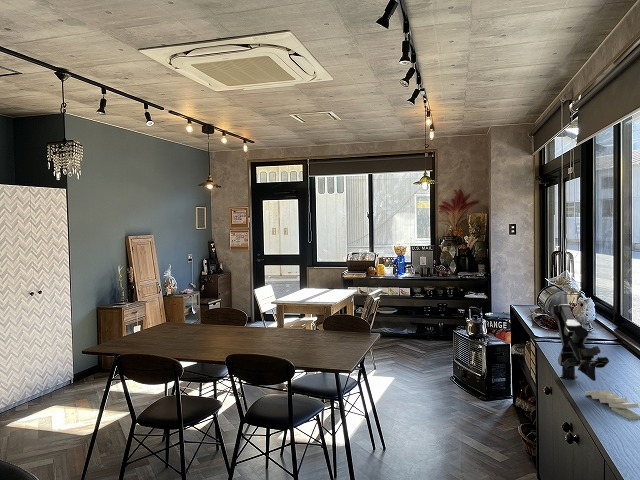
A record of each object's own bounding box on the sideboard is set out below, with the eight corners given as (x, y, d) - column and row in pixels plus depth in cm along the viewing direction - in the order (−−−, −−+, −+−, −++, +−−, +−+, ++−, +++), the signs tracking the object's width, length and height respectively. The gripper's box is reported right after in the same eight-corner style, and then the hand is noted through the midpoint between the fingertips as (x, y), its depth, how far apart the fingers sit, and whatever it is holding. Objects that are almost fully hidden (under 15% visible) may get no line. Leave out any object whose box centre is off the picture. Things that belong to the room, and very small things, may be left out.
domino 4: (608, 402, 206) (626, 404, 197) (619, 401, 207) (637, 403, 198) (609, 406, 206) (627, 408, 196) (619, 405, 207) (638, 407, 197)
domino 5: (611, 407, 204) (629, 416, 194) (622, 406, 204) (641, 416, 194) (611, 411, 204) (629, 420, 194) (622, 410, 204) (641, 420, 195)
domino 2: (591, 395, 216) (606, 394, 207) (601, 394, 217) (617, 393, 208) (592, 399, 216) (607, 398, 207) (602, 398, 217) (618, 397, 207)
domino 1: (584, 391, 221) (599, 390, 211) (594, 390, 222) (609, 390, 212) (585, 395, 220) (600, 394, 211) (595, 394, 221) (610, 394, 212)
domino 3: (599, 398, 212) (615, 398, 202) (610, 398, 212) (626, 397, 203) (600, 402, 211) (616, 402, 202) (610, 401, 212) (627, 402, 202)
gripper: (567, 340, 222) (582, 372, 212) (606, 338, 224) (623, 370, 213) (557, 353, 231) (571, 384, 220) (595, 351, 232) (611, 382, 222)
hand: (594, 380), depth 219 cm, fingers closed
